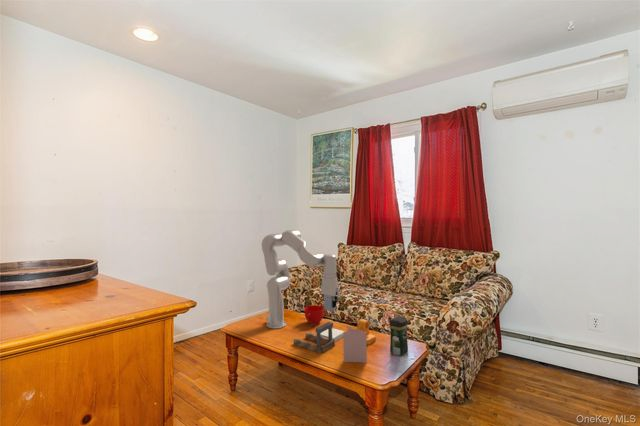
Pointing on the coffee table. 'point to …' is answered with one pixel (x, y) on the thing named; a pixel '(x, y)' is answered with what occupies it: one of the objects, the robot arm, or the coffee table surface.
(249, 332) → the coffee table surface
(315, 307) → the ceramic cup
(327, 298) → the block
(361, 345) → the greeting card
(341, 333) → the plinth
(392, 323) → the coffee jar
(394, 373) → the coffee table surface
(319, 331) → the grey arch
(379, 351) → the coffee table surface
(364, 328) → the bracket
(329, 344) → the rack
